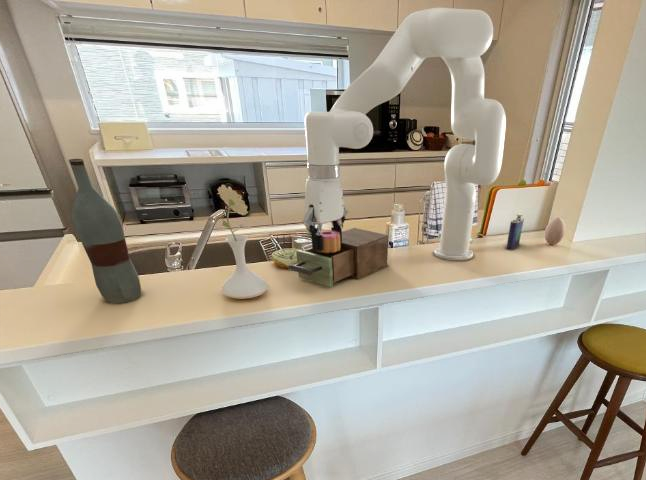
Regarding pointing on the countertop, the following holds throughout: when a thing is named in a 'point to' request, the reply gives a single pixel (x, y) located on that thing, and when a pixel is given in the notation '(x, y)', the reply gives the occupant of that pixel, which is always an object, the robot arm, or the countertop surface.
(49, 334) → the countertop surface
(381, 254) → the cabinet
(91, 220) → the bottle
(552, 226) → the egg
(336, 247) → the donut
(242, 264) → the flower in vase
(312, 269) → the drawer
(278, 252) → the decorated donut
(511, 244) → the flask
